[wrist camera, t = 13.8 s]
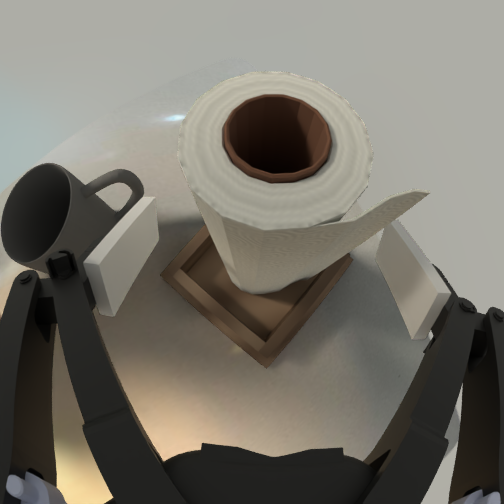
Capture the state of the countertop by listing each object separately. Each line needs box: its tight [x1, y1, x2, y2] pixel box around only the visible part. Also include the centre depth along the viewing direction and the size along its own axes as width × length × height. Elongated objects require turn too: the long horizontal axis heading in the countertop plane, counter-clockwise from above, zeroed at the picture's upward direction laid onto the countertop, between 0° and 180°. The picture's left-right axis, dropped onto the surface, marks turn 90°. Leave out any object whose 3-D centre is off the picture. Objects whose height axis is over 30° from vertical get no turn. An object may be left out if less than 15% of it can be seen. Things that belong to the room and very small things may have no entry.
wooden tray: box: [160, 224, 353, 368], centre depth 28 cm, size 14×14×4 cm
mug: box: [1, 163, 144, 274], centre depth 25 cm, size 14×9×12 cm
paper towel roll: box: [177, 72, 430, 295], centre depth 18 cm, size 7×6×21 cm
